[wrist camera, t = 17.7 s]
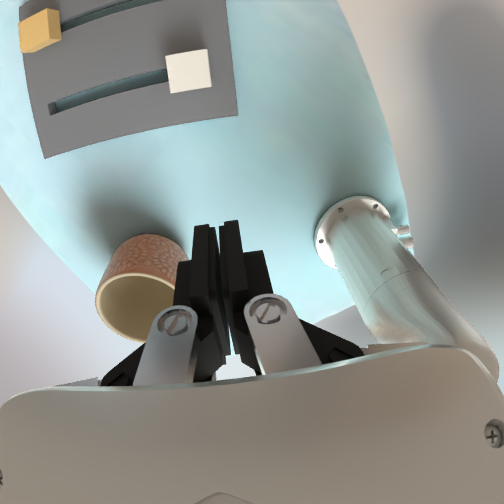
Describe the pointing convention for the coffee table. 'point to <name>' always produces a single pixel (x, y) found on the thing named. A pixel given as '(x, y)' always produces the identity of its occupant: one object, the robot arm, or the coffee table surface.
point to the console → (125, 69)
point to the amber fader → (39, 30)
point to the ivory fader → (188, 71)
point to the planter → (138, 284)
